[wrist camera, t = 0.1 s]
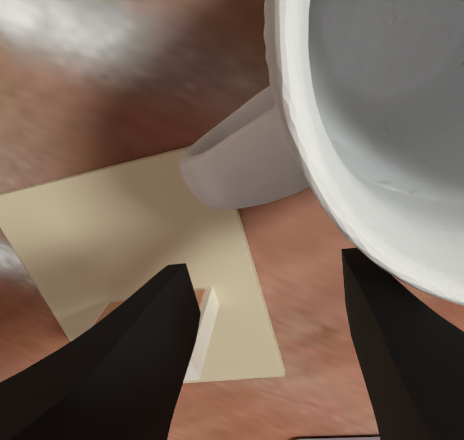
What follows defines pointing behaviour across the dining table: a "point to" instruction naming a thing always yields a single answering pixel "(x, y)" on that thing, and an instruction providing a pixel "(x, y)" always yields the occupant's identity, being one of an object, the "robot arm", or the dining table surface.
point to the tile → (206, 324)
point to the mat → (141, 254)
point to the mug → (356, 131)
